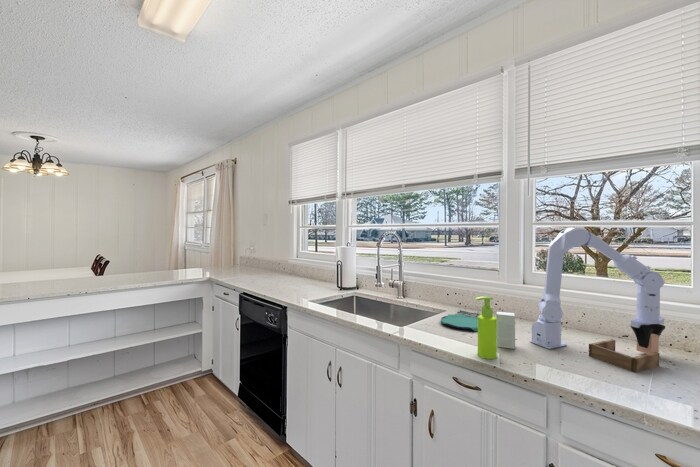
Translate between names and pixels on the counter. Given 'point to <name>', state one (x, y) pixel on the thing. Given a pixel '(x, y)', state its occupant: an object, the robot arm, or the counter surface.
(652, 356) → the open-sided box
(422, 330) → the counter surface
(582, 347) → the counter surface
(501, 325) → the skincare box
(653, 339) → the terracotta block
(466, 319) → the teal flat rounded piece
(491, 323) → the soap dispenser
